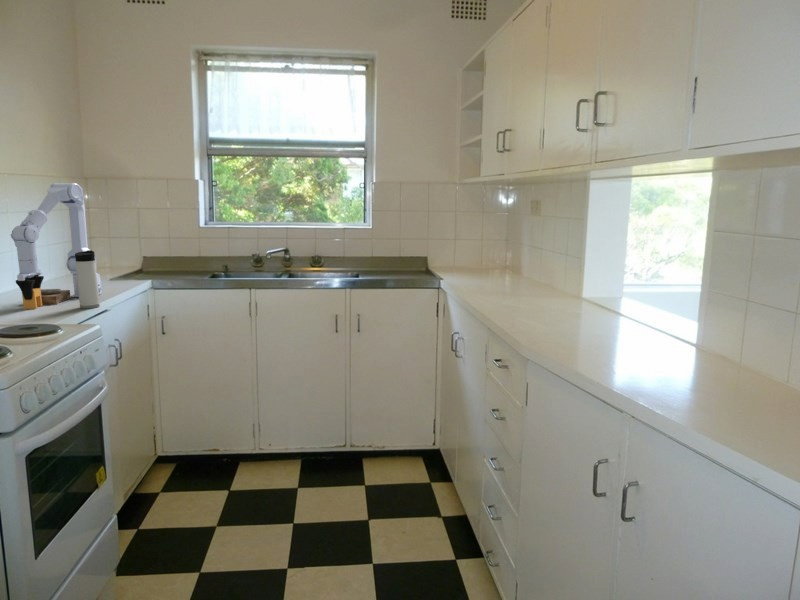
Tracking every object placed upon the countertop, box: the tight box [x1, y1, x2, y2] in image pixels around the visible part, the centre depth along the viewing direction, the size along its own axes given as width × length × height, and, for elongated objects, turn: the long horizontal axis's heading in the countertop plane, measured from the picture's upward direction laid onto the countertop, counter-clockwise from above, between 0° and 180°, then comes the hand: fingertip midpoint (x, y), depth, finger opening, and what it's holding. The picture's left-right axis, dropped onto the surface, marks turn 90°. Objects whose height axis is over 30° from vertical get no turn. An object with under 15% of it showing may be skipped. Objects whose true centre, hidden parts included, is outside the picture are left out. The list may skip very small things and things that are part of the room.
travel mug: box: [75, 249, 101, 310], centre depth 216 cm, size 6×7×20 cm
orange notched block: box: [21, 287, 43, 310], centre depth 217 cm, size 4×5×6 cm
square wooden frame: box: [40, 288, 72, 306], centre depth 229 cm, size 11×14×5 cm
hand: (32, 298), depth 217 cm, fingers closed on orange notched block, 5 cm apart
